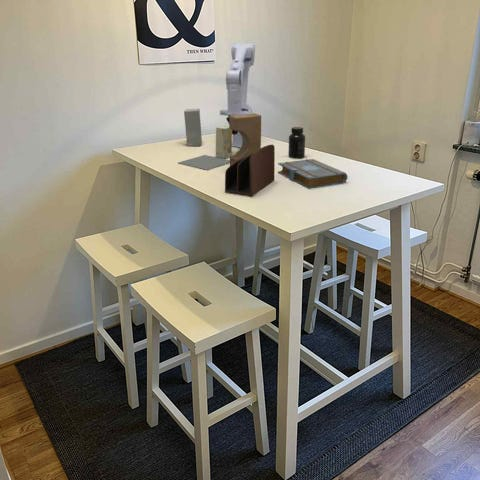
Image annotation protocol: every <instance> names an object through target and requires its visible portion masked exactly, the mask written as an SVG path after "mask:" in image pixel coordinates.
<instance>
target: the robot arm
mask: <svg viewBox="0 0 480 480" xmlns="http://www.w3.org/2000/svg"><path fill="white" fill-rule="evenodd" d="M255 46H256V45H255V44H254V43H253V42H252V43H236V42H233V43H232V44H231V51H230V52H231V57H232V61H231V62H230V66H229V70H227V71H226V72H225V83H226V90H227V110H226V109H222V110H221V109H220V110H219V115H220V116H227V117H226V119H225V120H226V121H227V123H228V124H229V116H231V115H241V114H252V113H253V109H252V107H251V106H250V105H249V104H247V98H248V96H247V95H248V86H249V85H248V83H249V72H250V68H251V67H252V66H254V63H255V56H256V55H255V54H256V47H255ZM241 146H242V136H241V134H240V133H239V132H238V131H235V130H232V147H235V148H239V149H240V148H241Z"/></svg>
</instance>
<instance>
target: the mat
mask: <svg viewBox="0 0 480 480" xmlns="http://www.w3.org/2000/svg"><path fill="white" fill-rule="evenodd" d="M177 164H178V165H183V166H188V167H190V168H196V169H200V170H203V171H209V170H213V169H215V168H219V167H222V166H225V164H226V165H230V159H226V158H219V157H216V156H212V155H208V154H204V155H199V156H197V157H192V158H189V159H186V160H182V161H179V162H177Z"/></svg>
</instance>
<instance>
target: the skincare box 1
mask: <svg viewBox="0 0 480 480" xmlns="http://www.w3.org/2000/svg"><path fill="white" fill-rule="evenodd" d="M200 112H201V111H200V108H187V109H184V111H183V115H184V126H185V127H184V128H185V137H186V146H187V147H201V146H202V144H203V138H202V127H201V126H202V125H201V124H202V123H201V113H200Z"/></svg>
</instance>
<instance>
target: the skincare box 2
mask: <svg viewBox="0 0 480 480" xmlns="http://www.w3.org/2000/svg"><path fill="white" fill-rule="evenodd" d="M232 143H233V134H232V129H230V128H229V126H226V125H222V126H219V127H216V130H215V157H217V158H222V159H226V158H230V156H231V155H232V153H233V152H232V149H233V148H232V147H233V146H232Z"/></svg>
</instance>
